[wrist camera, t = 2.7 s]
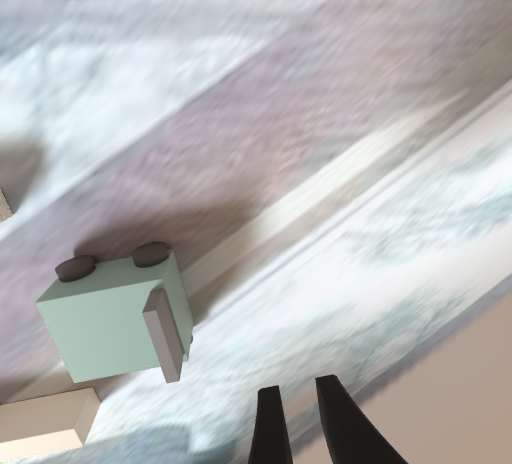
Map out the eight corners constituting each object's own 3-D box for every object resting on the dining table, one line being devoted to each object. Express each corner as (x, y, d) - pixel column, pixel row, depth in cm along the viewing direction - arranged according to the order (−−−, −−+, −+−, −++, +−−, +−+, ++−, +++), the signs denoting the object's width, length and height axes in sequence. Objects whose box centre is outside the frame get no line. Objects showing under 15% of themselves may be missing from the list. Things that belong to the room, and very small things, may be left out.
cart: (170, 238, 19) (150, 287, 14) (195, 328, 21) (187, 397, 16) (63, 258, 19) (6, 315, 14) (100, 346, 21) (63, 421, 16)
